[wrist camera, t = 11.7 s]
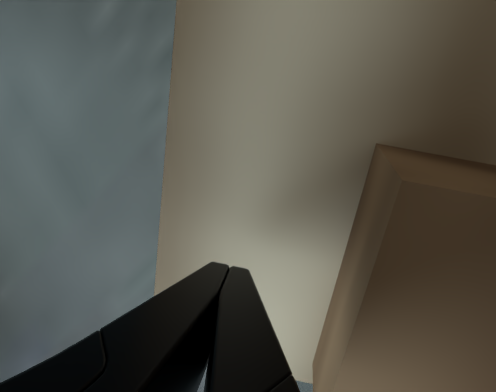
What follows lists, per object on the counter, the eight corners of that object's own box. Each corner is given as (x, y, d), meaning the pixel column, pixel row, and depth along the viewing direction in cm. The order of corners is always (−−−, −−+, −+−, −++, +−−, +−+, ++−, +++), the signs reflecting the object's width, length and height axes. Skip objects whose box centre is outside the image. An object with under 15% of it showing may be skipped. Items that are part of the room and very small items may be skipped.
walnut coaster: (312, 363, 11) (314, 447, 9) (376, 143, 9) (402, 179, 6) (547, 416, 11) (614, 519, 8) (686, 200, 8) (835, 262, 6)
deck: (179, 288, 14) (149, 346, 12) (260, -470, 8) (234, -762, 5) (511, 360, 14) (563, 440, 11) (935, -416, 7) (1366, -728, 4)
